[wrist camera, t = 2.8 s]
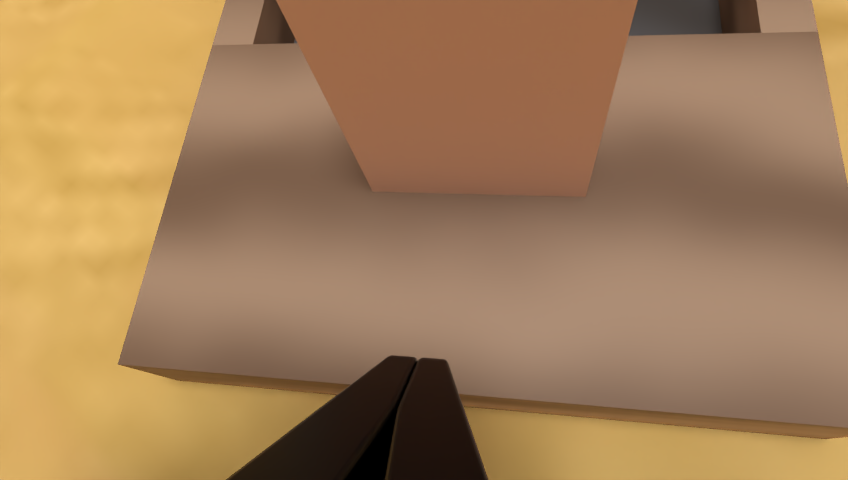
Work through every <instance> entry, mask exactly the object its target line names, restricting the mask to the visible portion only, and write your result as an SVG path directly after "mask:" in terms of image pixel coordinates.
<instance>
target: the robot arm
mask: <svg viewBox="0 0 848 480" xmlns="http://www.w3.org/2000/svg"><path fill="white" fill-rule="evenodd" d="M226 480H488V478H487V475H486V472H485V469H484V466H483V463H482V460H481V457H480V454H479V451H478V448H477V445H476V443H475V440H474V437H473V434H472V431H471V428H470V425H469V422H468V419H467V416H466V413H465V410H464V407H463V404H462V401H461V399H460V396H459V393H458V390H457V387H456V384H455V381H454V378H453V375H452V372H451V369H450V366H449V363H448V362H447V360H445V359H437V358H420V359H419V360H417V359H416V358H415V357H410V356H398V355H390V356H388V357H386V358H385V359H384V360H382V361H381V362H380V363H379V364H377V365H376V366H375V367H373V368H372V369H371V370H369V371H368V372H367V373H365V374H364V375H363V376H361V377H360V378H359V379H358V380H356V381H355V382H354V383H352V384H351V385H350V386H348V387H347V388H346V389H344V390H343V391H342V392H340V393H339V394H338V395H336V396H335V397H334V398H333V399H331V400H330V401H329V402H327V403H326V404H325V405H323V406H322V407H321V408H319V409H318V410H317V411H315V412H314V413H313V414H312V415H310V416H309V417H308V418H306V419H305V420H304V421H302V422H301V423H300V424H298V425H297V426H296V427H294V428H293V429H292V430H291V431H289V432H288V433H287V434H285V435H284V436H283V437H281V438H280V439H279V440H277V441H276V442H275V443H273V444H272V445H271V446H269V447H268V448H267V449H266V450H264V451H263V452H262V453H260V454H259V455H258V456H256V457H255V458H254V459H252V460H251V461H250V462H248V463H247V464H246V465H245V466H243V467H242V468H241V469H239V470H238V471H237V472H235V473H234V474H233V475H231V476H230V477H229V478H227V479H226Z"/></svg>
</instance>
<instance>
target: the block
mask: <svg viewBox="0 0 848 480" xmlns="http://www.w3.org/2000/svg"><path fill="white" fill-rule="evenodd" d="M276 1H277V3H278V5H279V7H280V9H281V11H282V13H283V15H284V17H285V19H286V21H287V23H288V25H289V27H290V29H291V31H292V33H293V35H294V37H295V39H296V41H297V43H298V45H299V47H300V49H301V51H302V53H303V55H304V57H305V59H306V61H307V63H308V65H309V66H310V68H311V70H312V72H313V74H314V76H315V78H316V80H317V82H318V84H319V86H320V88H321V90H322V92H323V94H324V96H325V98H326V100H327V102H328V104H329V106H330V108H331V110H332V112H333V114H334V116H335V118H336V120H337V122H338V124H339V126H340V128H341V130H342V132H343V134H344V136H345V138H346V140H347V142H348V144H349V146H350V148H351V150H352V152H353V154H354V156H355V158H356V160H357V162H358V163H359V165H360V167H361V169H362V171H363V173H364V175H365V177H366V179H367V181H368V183H369V185H370V187H371V189H372V191H373V192H405V193H445V194H485V195H525V196H565V197H586V194H587V190H588V186H589V182H590V179H591V175H592V171H593V167H594V163H595V160H596V156H597V152H598V148H599V145H600V141H601V137H602V133H603V129H604V126H605V122H606V118H607V114H608V111H609V107H610V103H611V99H612V95H613V92H614V88H615V84H616V80H617V77H618V73H619V69H620V65H621V61H622V58H623V54H624V50H625V46H626V43H627V39H628V35H629V31H630V28H631V24H632V20H633V16H634V12H635V9H636V5H637V1H638V0H276Z"/></svg>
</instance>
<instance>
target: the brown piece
mask: <svg viewBox="0 0 848 480" xmlns="http://www.w3.org/2000/svg"><path fill="white" fill-rule="evenodd" d="M390 355H398V356H410V357H415V358H416V359H417V360H419V359H420V358H437V359H445V360H447V362H448V363H449V366H450V369H451V372H452V375H453V378H454V381H455V384H456V387H457V390H458V393H459V396H460V399H461V401H462V404H463V406H467V407H478V408H490V409H501V410H512V411H523V412H534V413H545V414H556V415H567V416H578V417H589V418H600V419H611V420H622V421H633V422H644V423H655V424H666V425H677V426H688V427H699V428H710V429H722V430H733V431H744V432H755V433H766V434H777V435H788V436H799V437H810V438H821V439H830V438H840V437H848V184H847V179H846V174H845V169H844V164H843V159H842V154H841V149H840V143H839V138H838V133H837V128H836V123H835V118H834V113H833V107H832V102H831V97H830V92H829V87H828V82H827V77H826V72H825V66H824V61H823V56H822V51H821V46H820V41H819V36H818V30H817V25H816V20H815V15H814V10H813V5H812V0H638V1H637V5H636V9H635V12H634V16H633V20H632V24H631V28H630V31H629V35H628V39H627V43H626V46H625V50H624V54H623V58H622V61H621V65H620V69H619V73H618V77H617V80H616V84H615V88H614V92H613V95H612V99H611V103H610V107H609V111H608V114H607V118H606V122H605V126H604V129H603V133H602V137H601V141H600V145H599V148H598V152H597V156H596V160H595V163H594V167H593V171H592V175H591V179H590V182H589V186H588V190H587V194H586V197H565V196H525V195H485V194H445V193H405V192H373V191H372V189H371V187H370V185H369V183H368V181H367V179H366V177H365V175H364V173H363V171H362V169H361V167H360V165H359V163H358V162H357V160H356V158H355V156H354V154H353V152H352V150H351V148H350V146H349V144H348V142H347V140H346V138H345V136H344V134H343V132H342V130H341V128H340V126H339V124H338V122H337V120H336V118H335V116H334V114H333V112H332V110H331V108H330V106H329V104H328V102H327V100H326V98H325V96H324V94H323V92H322V90H321V88H320V86H319V84H318V82H317V80H316V78H315V76H314V74H313V72H312V70H311V68H310V66H309V65H308V63H307V61H306V59H305V57H304V55H303V53H302V51H301V49H300V47H299V45H298V43H297V41H296V39H295V37H294V35H293V33H292V31H291V29H290V27H289V25H288V23H287V21H286V19H285V17H284V15H283V13H282V11H281V9H280V7H279V5H278V3H277V1H276V0H226V1H225V5H224V8H223V12H222V15H221V18H220V22H219V25H218V28H217V32H216V35H215V39H214V42H213V45H212V49H211V52H210V55H209V59H208V62H207V65H206V69H205V72H204V76H203V79H202V82H201V86H200V89H199V92H198V96H197V99H196V103H195V106H194V109H193V113H192V116H191V119H190V123H189V126H188V130H187V133H186V136H185V140H184V143H183V146H182V150H181V153H180V157H179V160H178V163H177V167H176V170H175V173H174V177H173V180H172V184H171V187H170V190H169V194H168V197H167V200H166V204H165V207H164V210H163V214H162V217H161V221H160V224H159V227H158V231H157V234H156V237H155V241H154V244H153V248H152V251H151V254H150V258H149V261H148V264H147V268H146V271H145V275H144V278H143V281H142V285H141V288H140V291H139V295H138V298H137V302H136V305H135V308H134V312H133V315H132V318H131V322H130V325H129V329H128V332H127V335H126V339H125V342H124V345H123V349H122V352H121V355H120V359H119V362H118V365H122V366H126V367H130V368H133V369H137V370H141V371H145V372H148V373H152V374H156V375H160V376H163V377H167V378H171V379H175V380H180V381H191V382H202V383H213V384H224V385H235V386H246V387H258V388H269V389H280V390H291V391H302V392H313V393H324V394H335V395H338V394H339V393H340V392H342V391H343V390H344V389H346V388H347V387H348V386H350V385H351V384H352V383H354V382H355V381H356V380H358V379H359V378H360V377H361V376H363V375H364V374H365V373H367V372H368V371H369V370H371V369H372V368H373V367H375V366H376V365H377V364H379V363H380V362H381V361H382V360H384V359H385V358H386V357H388V356H390Z"/></svg>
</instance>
